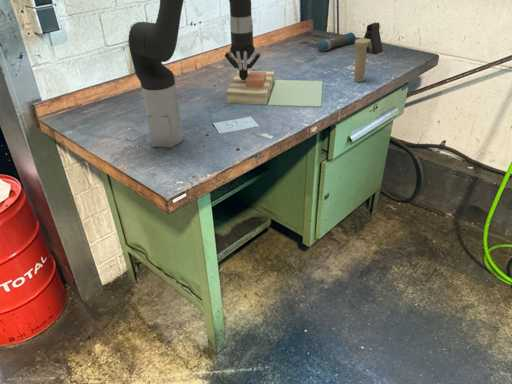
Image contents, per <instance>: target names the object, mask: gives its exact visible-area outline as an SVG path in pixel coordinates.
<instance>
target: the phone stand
mask: <svg viewBox="0 0 512 384" xmlns="http://www.w3.org/2000/svg"><path fill="white" fill-rule="evenodd" d="M380 25H381V24H380V22H377V21H375V22H372V23H370V24H368V25H367V26H366V31H365V35H364V36H363V38H366V39H370V40H371V41H370V45H371V47H370V45H369V46H368V47H367V50H366V54H371V55H377V54H380V53H383V45H382V39H381V32H380Z"/></svg>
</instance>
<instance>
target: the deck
mask: <svg viewBox="0 0 512 384" xmlns="http://www.w3.org/2000/svg"><path fill="white" fill-rule="evenodd" d="M249 72H266V80H265V83H264V86H263V87H246V80H241V78H240V77H239V70H237V72H236V74H235V75H234V77H233V79H232V81H231V82H230V84H229V86H228V88H227V90H226V92H225V97H226V104H236V105H237V104H238V105H239V104H240V105H241V104H242V105H268V102H269V99H270V96H271V93H272V90H273V87H274V84H275V71H267V70H265V71H261V70H260V71H259V70H257V71H255V70H248V74H249Z"/></svg>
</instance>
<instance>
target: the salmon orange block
mask: <svg viewBox="0 0 512 384" xmlns="http://www.w3.org/2000/svg"><path fill="white" fill-rule="evenodd" d="M266 72H267V71H266ZM266 72H249V74H248V76H247V78H246V87H263V86H264V83H265V80H266Z"/></svg>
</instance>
